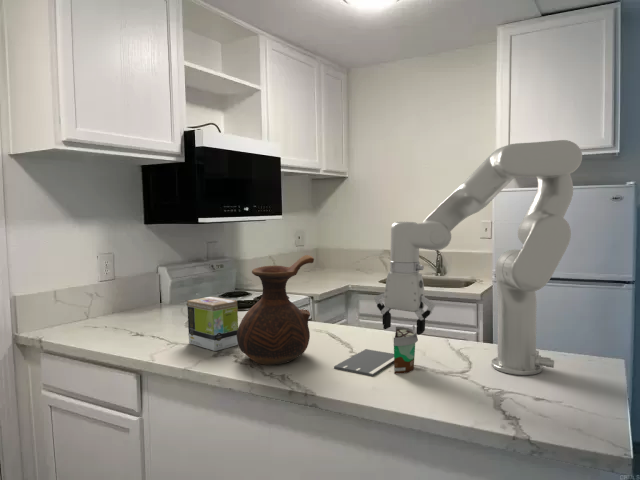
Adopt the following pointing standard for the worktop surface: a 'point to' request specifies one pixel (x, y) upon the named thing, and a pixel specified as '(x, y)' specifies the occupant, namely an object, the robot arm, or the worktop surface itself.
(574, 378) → the worktop surface
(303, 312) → the jug
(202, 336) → the tea box
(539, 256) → the robot arm
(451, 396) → the worktop surface
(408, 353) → the food container
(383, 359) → the mat
